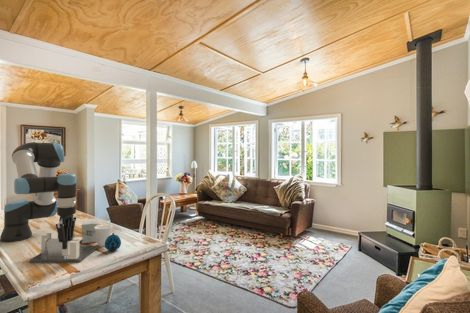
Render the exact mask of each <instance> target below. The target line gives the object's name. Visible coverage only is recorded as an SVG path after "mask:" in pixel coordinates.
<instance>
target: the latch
mask: <svg viewBox="0 0 470 313" xmlns="http://www.w3.org/2000/svg"><path fill="white" fill-rule="evenodd" d="M82 239H83V237H82V236H75V238H73V240H71V241H70V254H69V255H68V259H77V258H78V257H79V246H80V242H81V241H82ZM80 240H81V241H80Z"/></svg>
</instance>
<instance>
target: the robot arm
mask: <svg viewBox="0 0 470 313" xmlns="http://www.w3.org/2000/svg"><path fill="white" fill-rule="evenodd" d="M64 151H65V150H64V147H63V145H62V144H61V143H54V142H25V143H23V144H21V145H18V146H17V147H16V148H15V149H14V150H13V151H12V154H11V159H12V162H13V163H14V164H15V167H16V168H15V169H16V173H17V178H14V182H13V184H14V185H13V187H14V188H13V189H14V193H15V194H16V195H31V194H36V196H35V197H34V198H33V200H32V201H30V200H29V199H28V198H26V199H25V198H24V199H23V198H22V199H16V200H13V201H9V202H7V203H6V204H4V208H3V213H4V215H3V216H4V217H3V218H4V220H3V222H4V223H3V229H2V232H1V234H0V242H2V243H3V242H4V243H6V242H7V243H11V242H18V241H24V240H27V239H29V238H31V237H32V236H33V231H32V230H31V227H30V224H29V220H36V219H37V220H38V219H45V218H50V217H52V218H53V217H55V216H56V215H57V216H59V221H58V223H56V224H55V228H56V230H57V239H59V242H62V256H65V255H69V254H70V240H73V239H71V238H73V234H75V233H74V232H75V227H76V222H77V217H74V215H75V214H76V212H77V207H76V204H77V175H76V174H75V173H60V174H58V175H57V169H58V167H60V166H61V163H65V152H64ZM36 163H37V166H38V167H39V174H38V171H37V169H36V165H35V164H36ZM54 193H57V196H56V197H57V198H56V197H55V194H54Z"/></svg>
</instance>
